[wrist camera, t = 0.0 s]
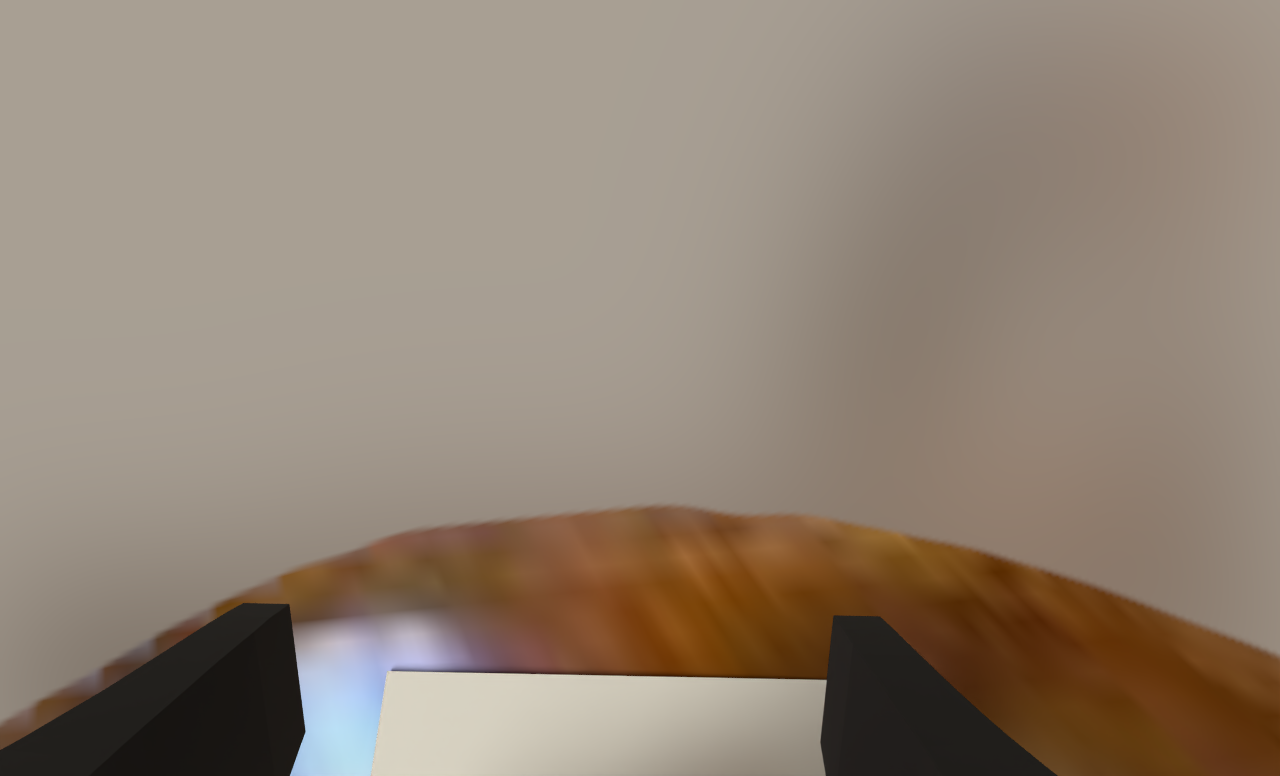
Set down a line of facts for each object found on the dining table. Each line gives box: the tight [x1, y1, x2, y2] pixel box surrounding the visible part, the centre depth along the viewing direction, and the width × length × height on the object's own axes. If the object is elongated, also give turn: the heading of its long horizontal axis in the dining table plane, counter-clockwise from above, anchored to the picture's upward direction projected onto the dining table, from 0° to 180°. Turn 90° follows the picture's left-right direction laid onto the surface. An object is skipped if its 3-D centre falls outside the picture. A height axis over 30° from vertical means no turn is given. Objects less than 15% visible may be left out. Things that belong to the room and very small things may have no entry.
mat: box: [371, 671, 827, 776], centre depth 41 cm, size 8×22×1 cm, turn 89°
